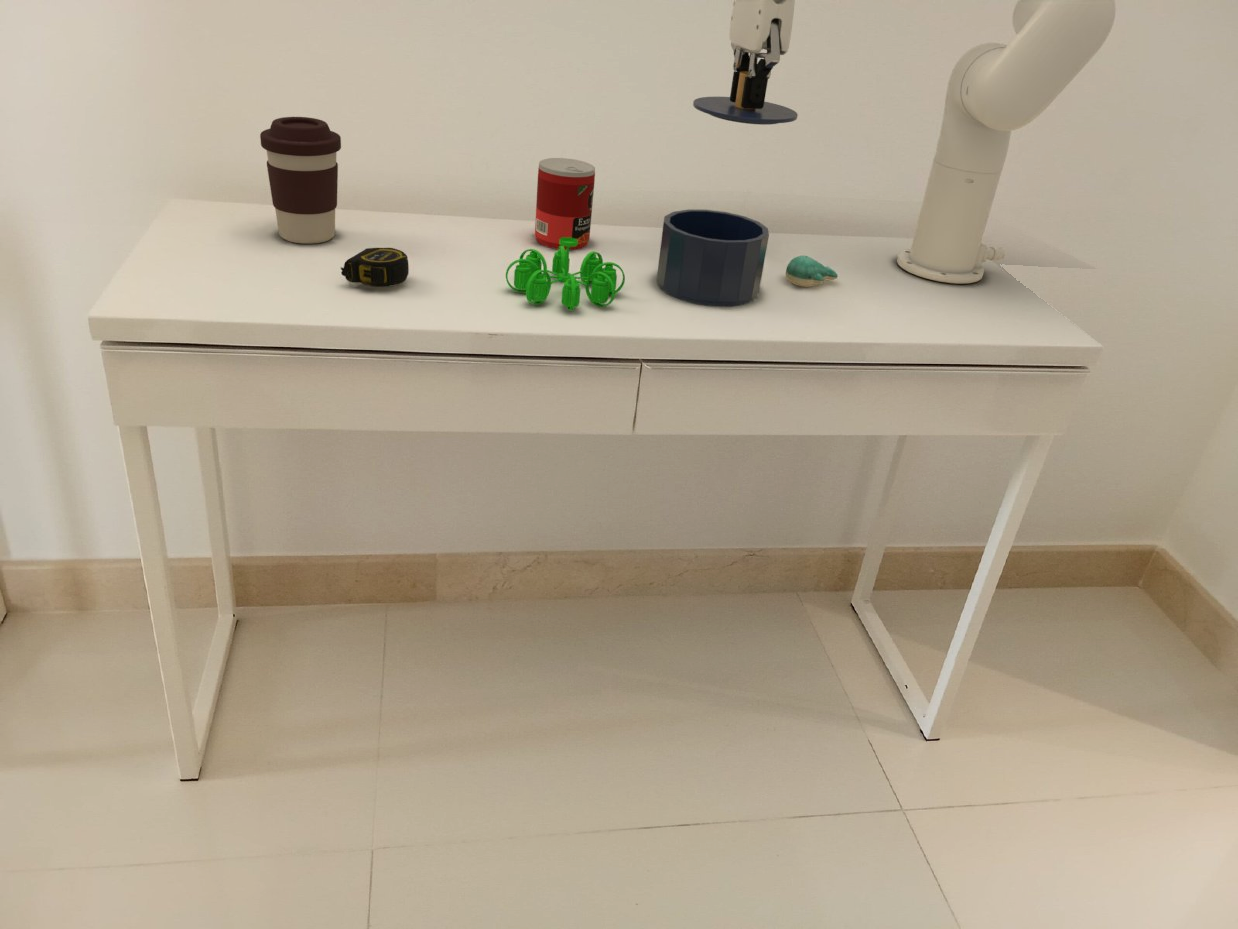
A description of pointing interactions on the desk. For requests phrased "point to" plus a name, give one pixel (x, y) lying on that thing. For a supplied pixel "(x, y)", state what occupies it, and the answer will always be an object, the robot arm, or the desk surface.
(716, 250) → the tin
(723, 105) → the tin lid
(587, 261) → the chandelier
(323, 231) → the coffee cup
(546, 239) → the canned food
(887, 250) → the desk surface
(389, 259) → the tape measure
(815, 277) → the whale figurine
